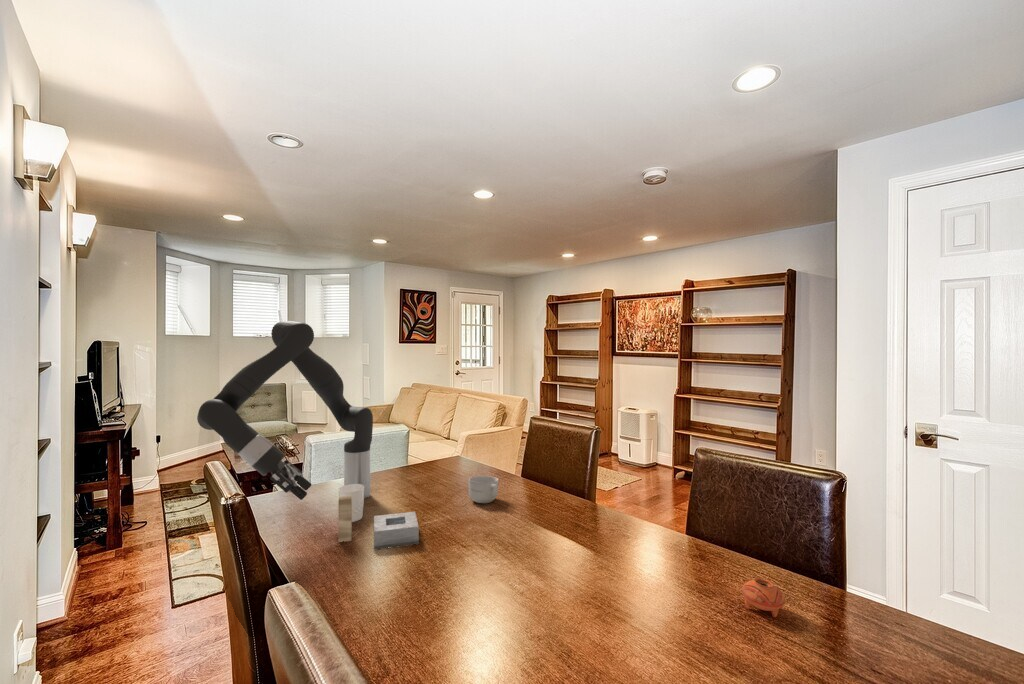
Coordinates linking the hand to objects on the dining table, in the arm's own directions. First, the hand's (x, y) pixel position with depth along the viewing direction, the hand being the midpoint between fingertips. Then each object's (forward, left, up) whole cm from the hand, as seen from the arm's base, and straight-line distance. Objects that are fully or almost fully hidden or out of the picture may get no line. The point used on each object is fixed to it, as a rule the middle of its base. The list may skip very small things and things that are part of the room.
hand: (307, 492), depth 128 cm
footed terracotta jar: (+64, +96, -15) cm, 117 cm away
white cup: (-16, +11, -15) cm, 24 cm away
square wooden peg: (0, +10, -14) cm, 18 cm away
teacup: (-18, +56, -15) cm, 61 cm away
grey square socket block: (+4, +24, -14) cm, 29 cm away
